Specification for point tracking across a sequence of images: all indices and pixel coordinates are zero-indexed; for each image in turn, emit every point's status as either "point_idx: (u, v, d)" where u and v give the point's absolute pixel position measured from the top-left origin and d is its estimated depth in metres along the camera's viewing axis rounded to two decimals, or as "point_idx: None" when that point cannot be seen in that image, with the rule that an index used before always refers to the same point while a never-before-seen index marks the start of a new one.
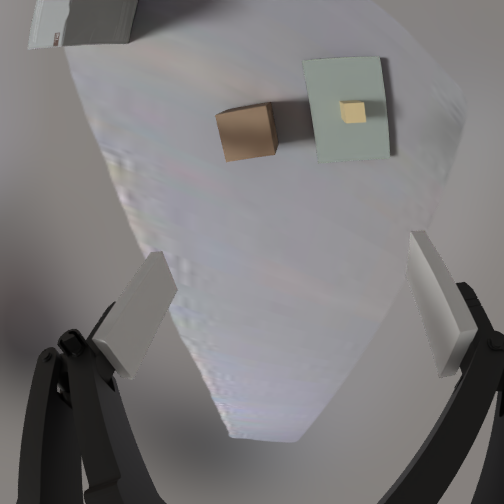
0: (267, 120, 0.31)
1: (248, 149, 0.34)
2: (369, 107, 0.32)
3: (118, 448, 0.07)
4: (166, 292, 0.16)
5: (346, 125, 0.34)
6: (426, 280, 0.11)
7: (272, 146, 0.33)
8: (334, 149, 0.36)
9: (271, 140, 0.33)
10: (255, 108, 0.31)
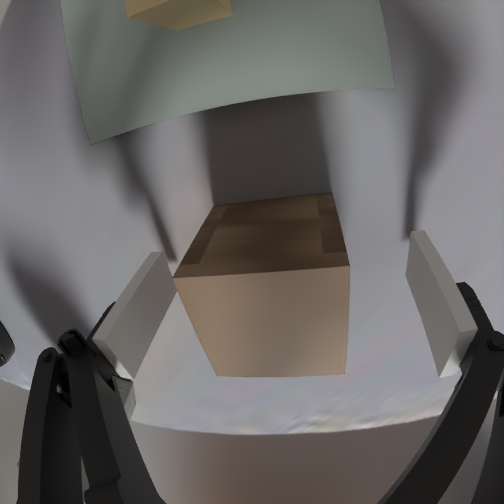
0: (220, 278, 0.10)
1: (319, 332, 0.11)
2: None
3: (118, 448, 0.07)
4: (166, 292, 0.16)
5: (254, 0, 0.08)
6: (426, 280, 0.11)
7: (317, 271, 0.09)
8: (344, 33, 0.09)
9: (294, 272, 0.09)
10: (186, 303, 0.11)
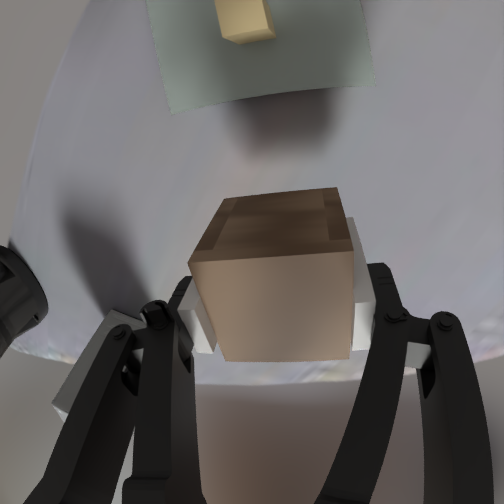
0: (233, 262, 0.11)
1: (324, 316, 0.11)
2: None
3: (177, 441, 0.07)
4: None
5: (289, 29, 0.14)
6: None
7: (323, 256, 0.10)
8: (344, 52, 0.15)
9: (302, 257, 0.10)
10: (199, 287, 0.12)
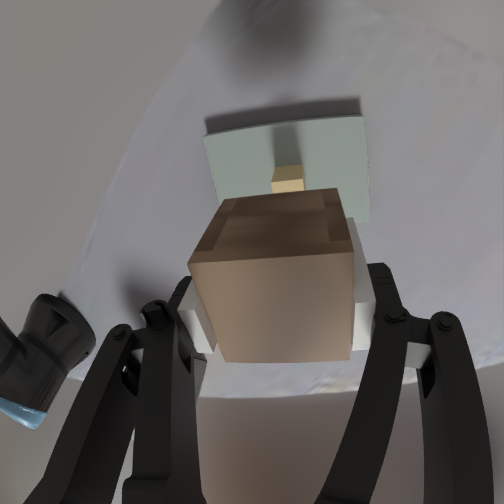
0: (233, 263, 0.11)
1: (325, 317, 0.11)
2: (285, 149, 0.24)
3: (177, 441, 0.07)
4: None
5: (315, 183, 0.25)
6: None
7: (323, 257, 0.10)
8: (351, 200, 0.26)
9: (302, 258, 0.10)
10: (199, 288, 0.12)
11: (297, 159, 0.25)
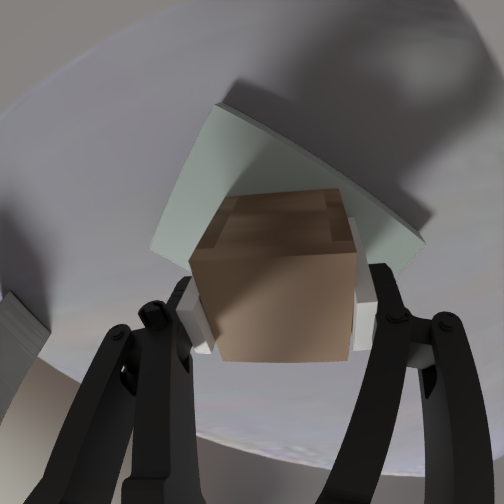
0: (235, 261, 0.11)
1: (325, 317, 0.11)
2: None
3: (176, 441, 0.07)
4: None
5: None
6: None
7: (326, 257, 0.10)
8: None
9: (305, 257, 0.10)
10: (199, 286, 0.11)
11: None
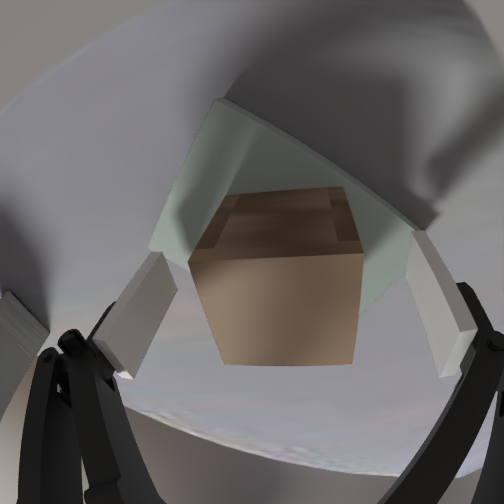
0: (236, 262, 0.10)
1: (329, 320, 0.11)
2: None
3: (118, 448, 0.07)
4: (166, 292, 0.16)
5: None
6: (426, 280, 0.11)
7: (332, 258, 0.09)
8: None
9: (309, 258, 0.10)
10: (199, 287, 0.11)
11: None
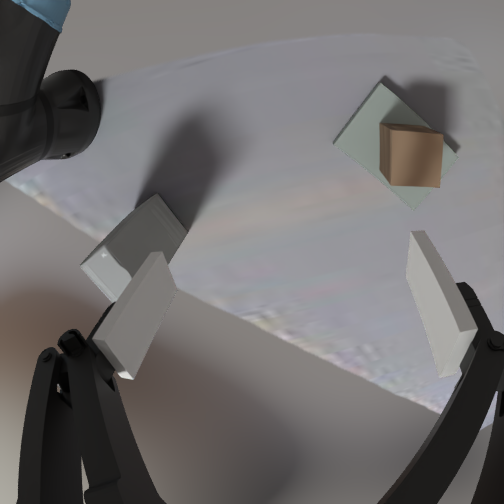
0: (408, 132, 0.25)
1: (433, 160, 0.26)
2: None
3: (118, 448, 0.07)
4: (166, 292, 0.16)
5: None
6: (426, 280, 0.11)
7: (435, 134, 0.24)
8: (416, 190, 0.34)
9: (428, 134, 0.25)
10: (393, 141, 0.26)
11: None
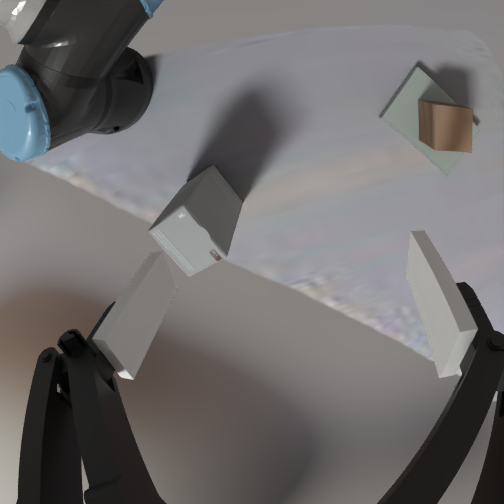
0: (446, 106, 0.27)
1: (466, 130, 0.28)
2: None
3: (118, 448, 0.07)
4: (166, 292, 0.16)
5: None
6: (426, 280, 0.11)
7: (466, 109, 0.26)
8: (448, 157, 0.36)
9: (461, 108, 0.26)
10: (435, 114, 0.28)
11: None
